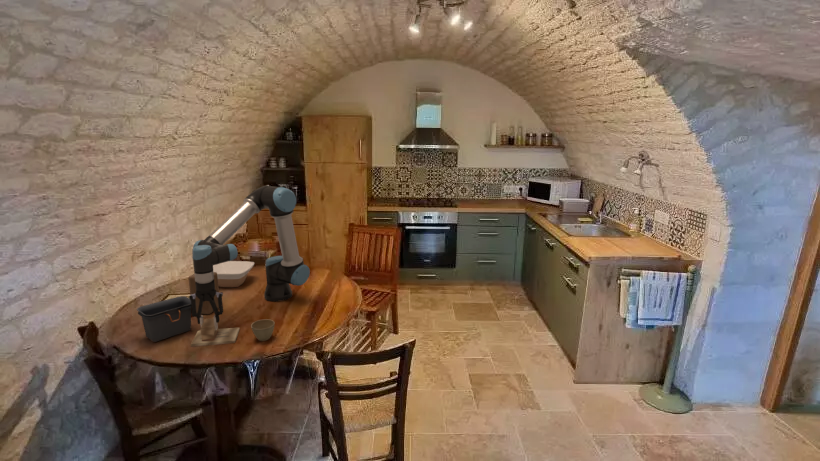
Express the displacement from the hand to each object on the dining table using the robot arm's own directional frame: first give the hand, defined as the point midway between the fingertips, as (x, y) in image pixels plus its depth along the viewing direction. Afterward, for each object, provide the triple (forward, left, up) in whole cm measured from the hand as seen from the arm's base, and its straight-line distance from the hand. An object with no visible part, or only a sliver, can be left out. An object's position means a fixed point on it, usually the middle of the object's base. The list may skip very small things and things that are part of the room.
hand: (209, 329), depth 194 cm
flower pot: (-24, +4, -5) cm, 24 cm away
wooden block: (+8, -33, -5) cm, 34 cm away
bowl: (+2, -72, -5) cm, 72 cm away
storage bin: (+18, -8, -5) cm, 21 cm away
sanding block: (0, 0, -3) cm, 3 cm away
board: (-3, 0, -4) cm, 5 cm away
